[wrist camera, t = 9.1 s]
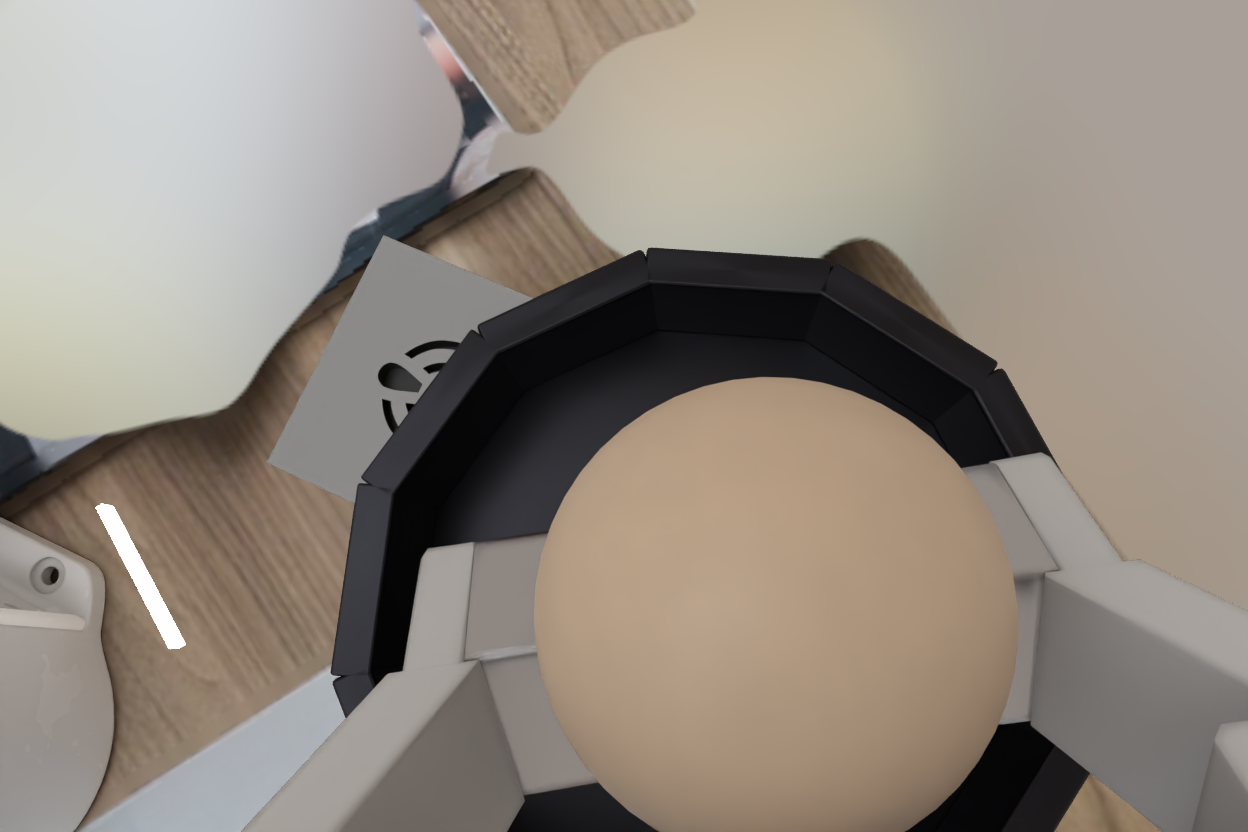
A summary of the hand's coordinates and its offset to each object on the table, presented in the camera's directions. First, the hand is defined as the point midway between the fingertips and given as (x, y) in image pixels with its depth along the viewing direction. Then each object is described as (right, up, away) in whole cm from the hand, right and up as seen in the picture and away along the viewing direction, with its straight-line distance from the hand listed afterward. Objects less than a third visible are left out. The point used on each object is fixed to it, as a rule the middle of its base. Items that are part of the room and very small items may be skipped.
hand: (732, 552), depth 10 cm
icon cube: (-7, 0, +40) cm, 40 cm away
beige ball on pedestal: (0, -2, +5) cm, 5 cm away
